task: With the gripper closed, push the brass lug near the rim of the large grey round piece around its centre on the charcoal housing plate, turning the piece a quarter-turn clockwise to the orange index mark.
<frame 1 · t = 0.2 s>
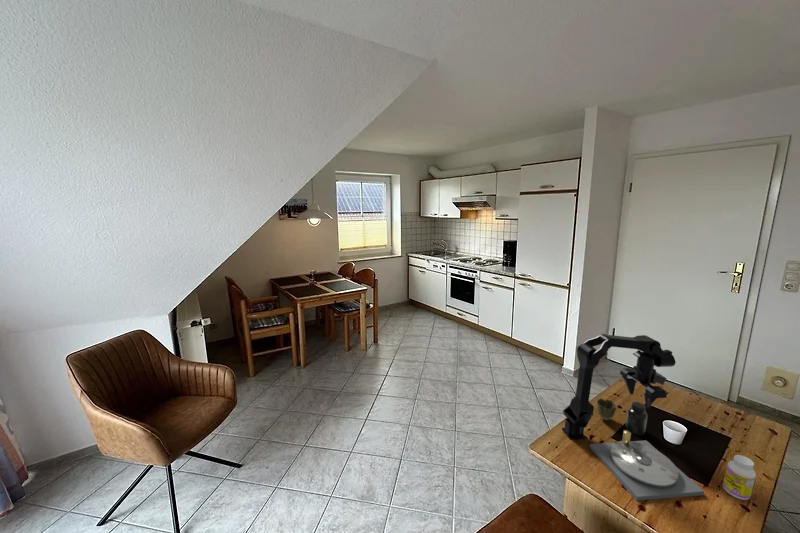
hand: (639, 400, 139), 14 cm above the table, fingers open, 9 cm apart
cup: (604, 419, 150), on the table
grey round piece: (643, 456, 121), point 5 cm above the table, hinge at 0.0°
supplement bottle: (634, 430, 143), on the table
housing plate: (641, 469, 122), on the table
supplement bottle 2: (735, 492, 112), on the table
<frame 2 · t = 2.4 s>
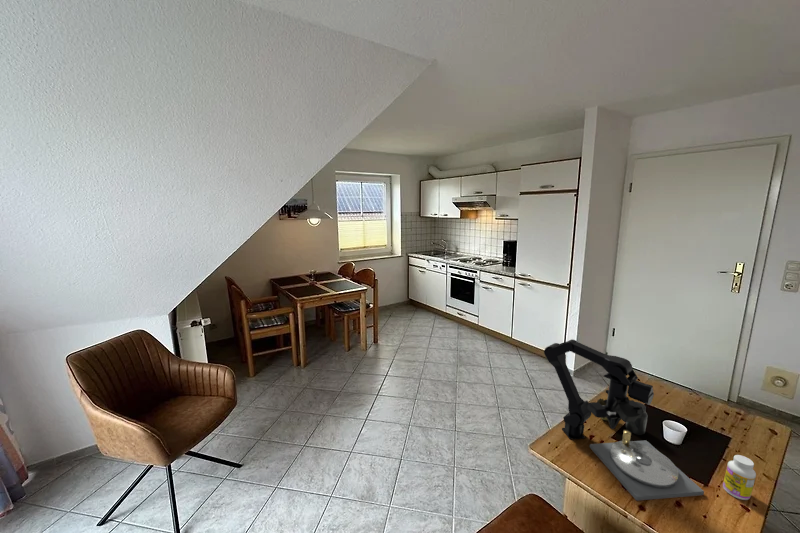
hand: (612, 428, 128), 11 cm above the table, fingers closed
nothing on the table moved.
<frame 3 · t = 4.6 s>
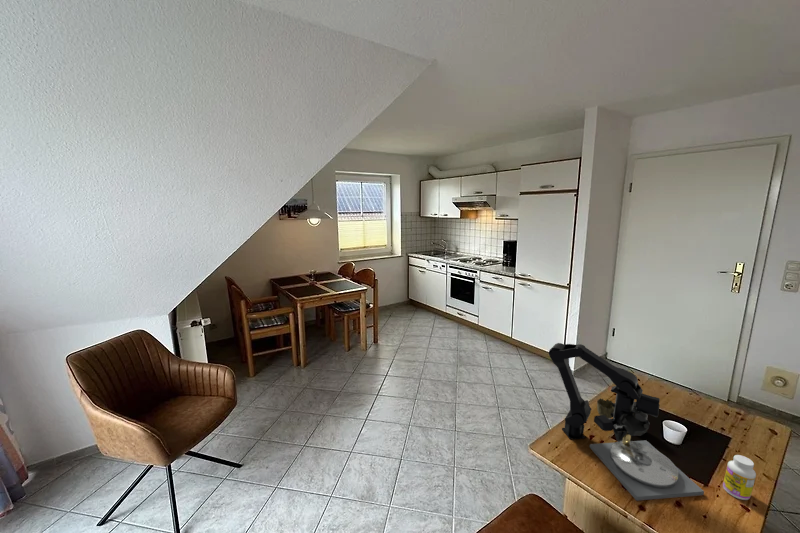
hand: (618, 441, 129), 5 cm above the table, fingers closed
grey round piece: (643, 456, 121), point 5 cm above the table, hinge at -0.7°, touching gripper
everything else where it was.
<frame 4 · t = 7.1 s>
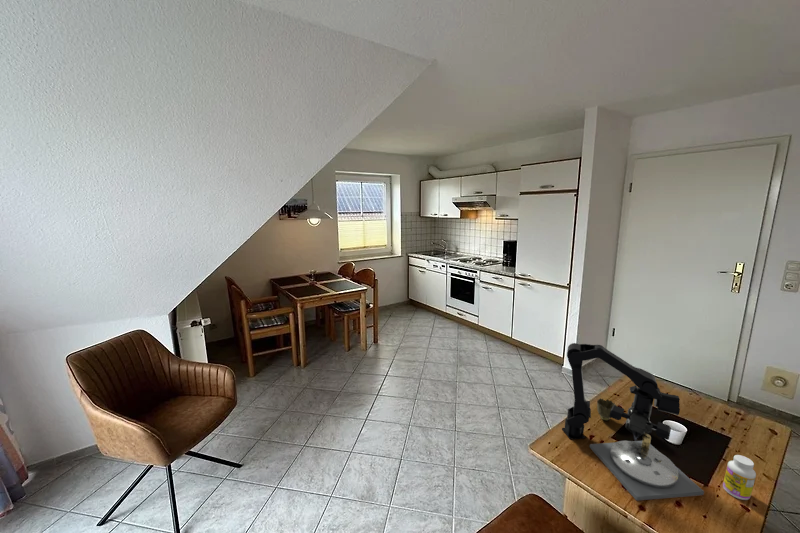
hand: (635, 440, 130), 5 cm above the table, fingers closed
grey round piece: (643, 456, 121), point 5 cm above the table, hinge at -45.4°, touching gripper
everything else where it was.
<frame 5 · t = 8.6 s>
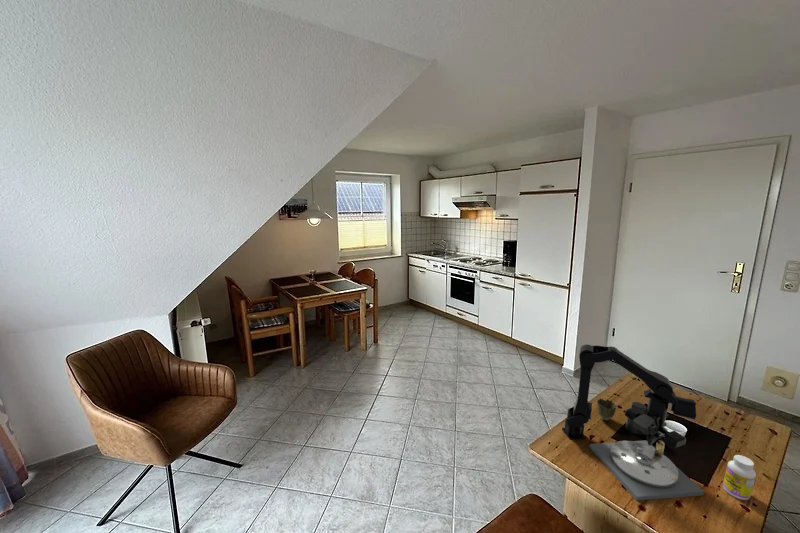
hand: (649, 445, 127), 5 cm above the table, fingers closed
grey round piece: (643, 456, 121), point 5 cm above the table, hinge at -74.6°, touching gripper
everything else where it was.
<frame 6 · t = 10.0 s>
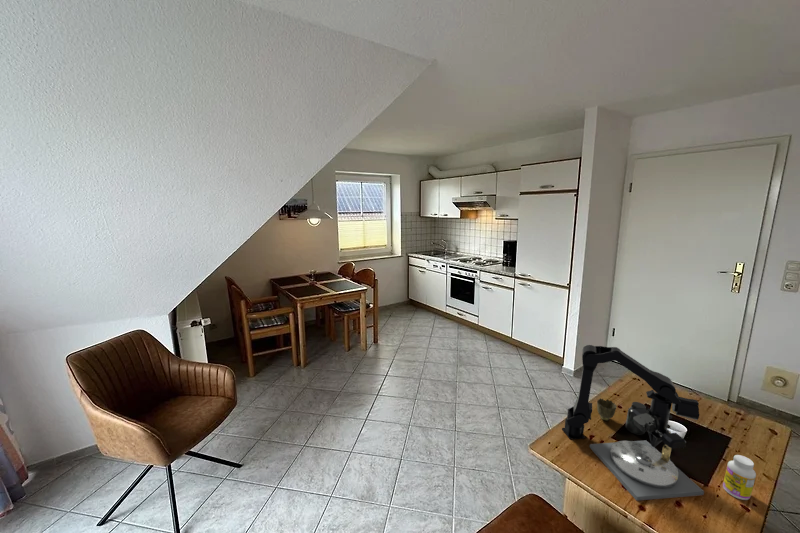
hand: (653, 446, 127), 5 cm above the table, fingers closed
grey round piece: (643, 456, 121), point 5 cm above the table, hinge at -91.0°
everything else where it was.
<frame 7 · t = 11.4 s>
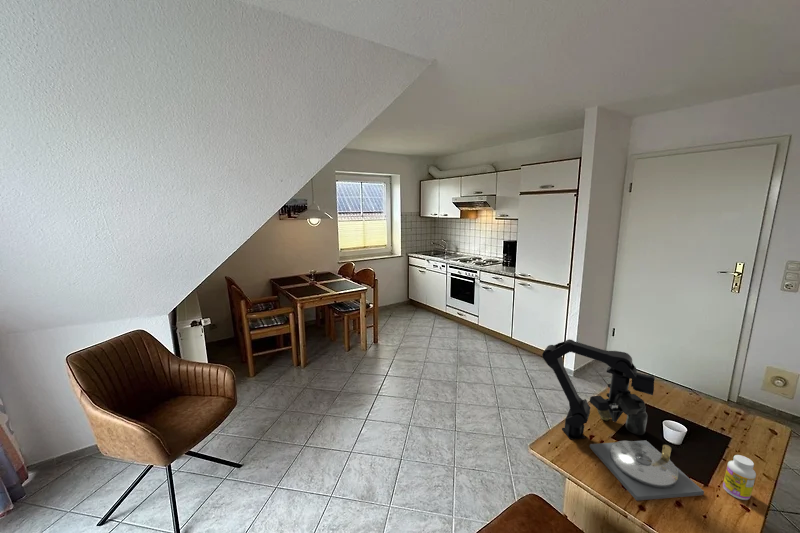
hand: (614, 421, 130), 12 cm above the table, fingers closed
nothing on the table moved.
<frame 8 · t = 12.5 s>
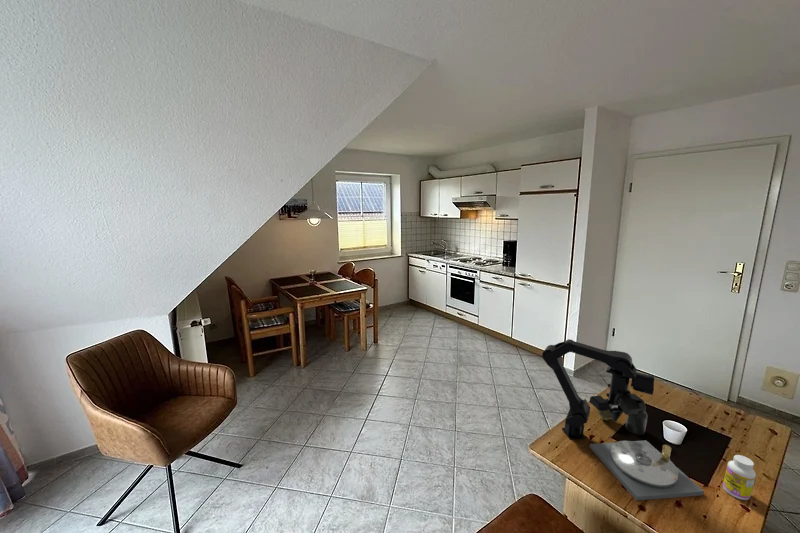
hand: (614, 421, 130), 12 cm above the table, fingers closed
nothing on the table moved.
at the end: grey round piece at -91° (first picture: +0°) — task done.
